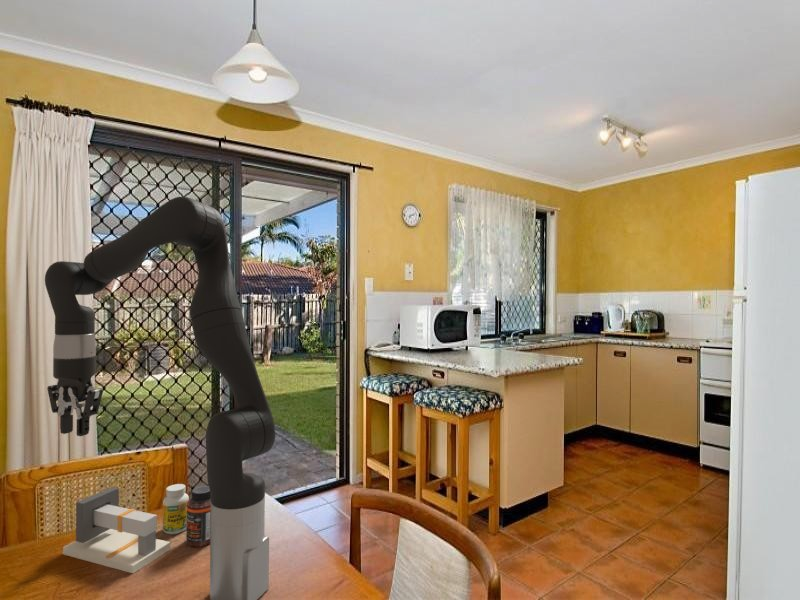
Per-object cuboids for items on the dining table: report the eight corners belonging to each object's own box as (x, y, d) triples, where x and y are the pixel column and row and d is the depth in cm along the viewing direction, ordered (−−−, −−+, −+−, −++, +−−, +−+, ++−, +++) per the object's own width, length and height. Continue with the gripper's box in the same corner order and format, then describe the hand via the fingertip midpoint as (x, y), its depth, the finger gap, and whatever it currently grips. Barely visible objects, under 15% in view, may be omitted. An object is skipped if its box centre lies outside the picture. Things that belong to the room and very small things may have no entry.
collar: (118, 524, 101) (118, 488, 101) (83, 543, 93) (83, 503, 93) (111, 523, 102) (112, 486, 102) (75, 541, 94) (76, 502, 94)
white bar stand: (170, 549, 97) (170, 508, 97) (133, 573, 89) (133, 528, 88) (103, 533, 103) (104, 494, 103) (62, 554, 95) (63, 512, 95)
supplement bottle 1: (186, 521, 109) (187, 480, 109) (190, 530, 105) (191, 488, 105) (161, 527, 106) (161, 485, 106) (164, 537, 102) (164, 494, 102)
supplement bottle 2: (179, 545, 98) (180, 493, 98) (198, 532, 104) (198, 482, 104) (204, 549, 97) (204, 496, 97) (221, 535, 103) (222, 485, 103)
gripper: (115, 354, 101) (114, 432, 101) (68, 351, 105) (68, 426, 105) (81, 358, 94) (81, 443, 94) (33, 355, 98) (33, 435, 98)
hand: (74, 433), depth 100 cm, fingers open, 4 cm apart
